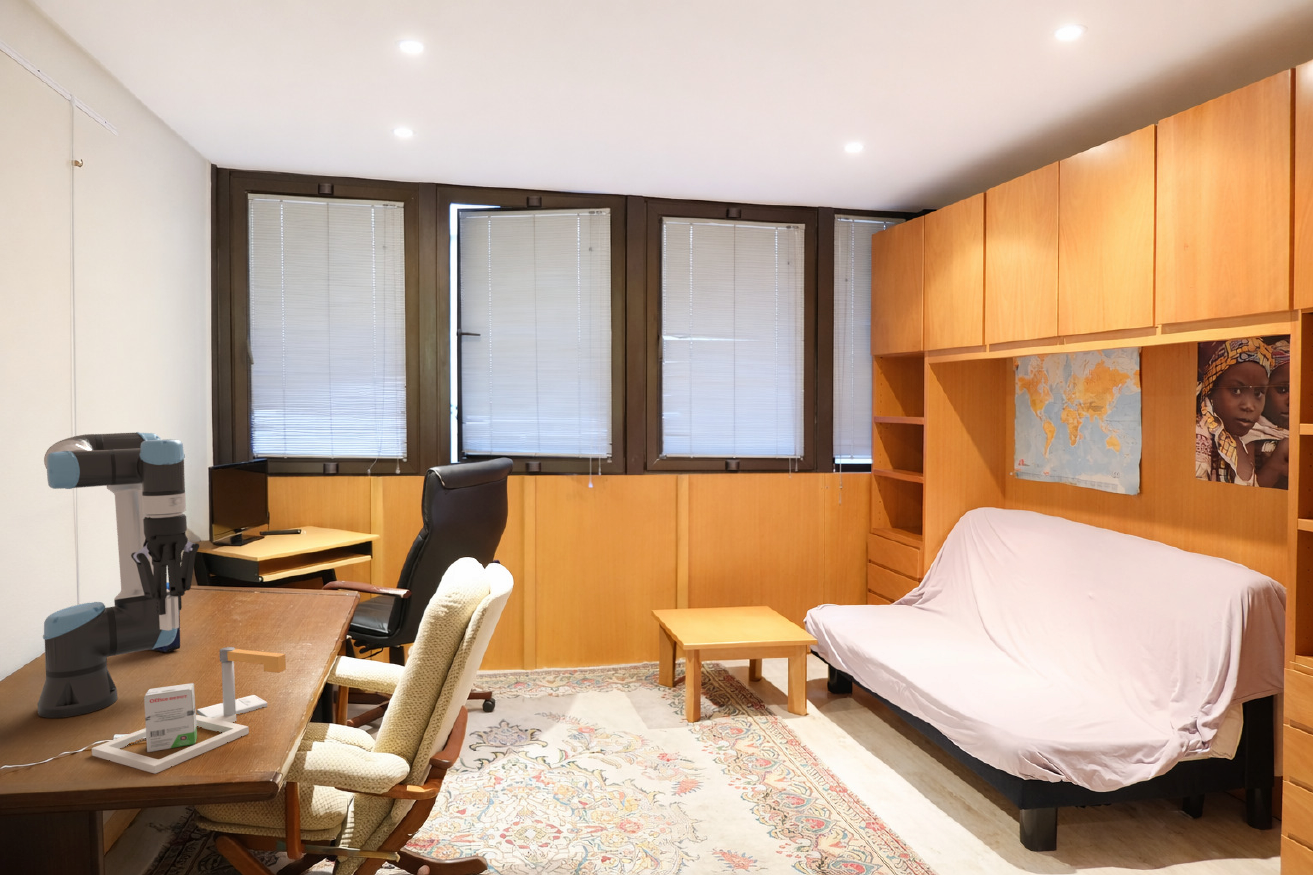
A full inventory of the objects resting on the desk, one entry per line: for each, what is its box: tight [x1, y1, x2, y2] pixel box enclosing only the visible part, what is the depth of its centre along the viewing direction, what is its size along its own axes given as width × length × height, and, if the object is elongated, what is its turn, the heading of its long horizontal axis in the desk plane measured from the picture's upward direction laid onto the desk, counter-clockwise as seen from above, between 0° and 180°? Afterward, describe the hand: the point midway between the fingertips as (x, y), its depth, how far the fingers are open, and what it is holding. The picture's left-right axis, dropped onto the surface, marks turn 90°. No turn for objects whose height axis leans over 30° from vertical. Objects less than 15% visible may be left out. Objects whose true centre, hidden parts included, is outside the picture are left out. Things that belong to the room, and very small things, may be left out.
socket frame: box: [91, 661, 250, 775], centre depth 165 cm, size 20×24×14 cm
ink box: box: [143, 682, 198, 753], centre depth 163 cm, size 9×5×12 cm, turn 114°
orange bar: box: [218, 646, 287, 674], centre depth 173 cm, size 3×16×4 cm, turn 72°
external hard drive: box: [196, 694, 268, 718], centre depth 182 cm, size 2×8×12 cm
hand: (169, 628), depth 163 cm, fingers closed
